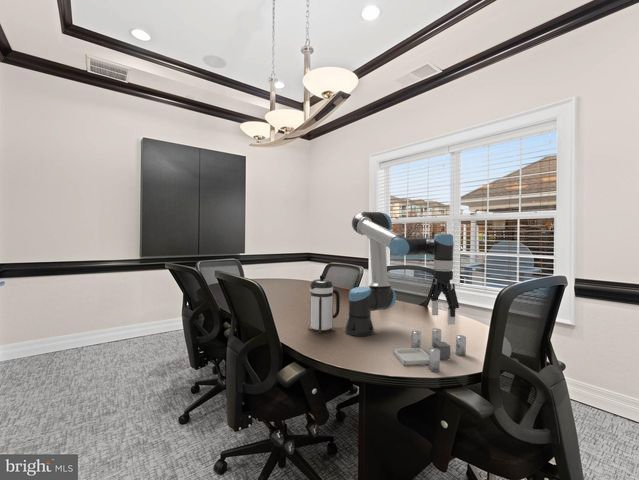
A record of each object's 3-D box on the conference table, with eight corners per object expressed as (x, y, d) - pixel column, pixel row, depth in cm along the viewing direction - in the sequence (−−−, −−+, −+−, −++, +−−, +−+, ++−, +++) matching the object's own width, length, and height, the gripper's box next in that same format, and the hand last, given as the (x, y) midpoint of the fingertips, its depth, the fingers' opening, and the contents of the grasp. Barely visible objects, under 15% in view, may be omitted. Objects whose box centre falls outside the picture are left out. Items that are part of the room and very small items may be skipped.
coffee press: (334, 335, 159) (335, 277, 158) (304, 333, 162) (305, 276, 161) (339, 325, 176) (340, 273, 174) (312, 323, 179) (312, 272, 178)
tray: (404, 365, 124) (404, 361, 124) (393, 353, 136) (393, 348, 136) (433, 364, 125) (433, 359, 125) (420, 352, 138) (420, 347, 138)
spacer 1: (413, 350, 139) (413, 333, 139) (410, 347, 143) (410, 330, 143) (422, 350, 140) (422, 333, 139) (418, 347, 144) (418, 330, 143)
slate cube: (438, 360, 130) (439, 346, 129) (433, 355, 135) (433, 342, 134) (450, 359, 130) (450, 345, 130) (443, 355, 135) (444, 341, 135)
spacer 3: (431, 372, 118) (432, 352, 118) (426, 368, 122) (427, 348, 122) (441, 372, 119) (442, 351, 118) (436, 367, 123) (436, 347, 122)
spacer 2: (434, 348, 143) (434, 331, 142) (430, 345, 147) (430, 328, 146) (442, 347, 143) (443, 330, 143) (438, 344, 147) (438, 328, 147)
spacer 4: (458, 356, 133) (459, 338, 133) (453, 352, 137) (454, 335, 137) (467, 356, 134) (468, 338, 134) (462, 352, 138) (462, 334, 138)
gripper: (469, 273, 119) (468, 328, 120) (437, 266, 144) (436, 311, 144) (450, 274, 118) (450, 328, 119) (421, 266, 143) (421, 312, 144)
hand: (442, 319), depth 132 cm, fingers open, 13 cm apart
